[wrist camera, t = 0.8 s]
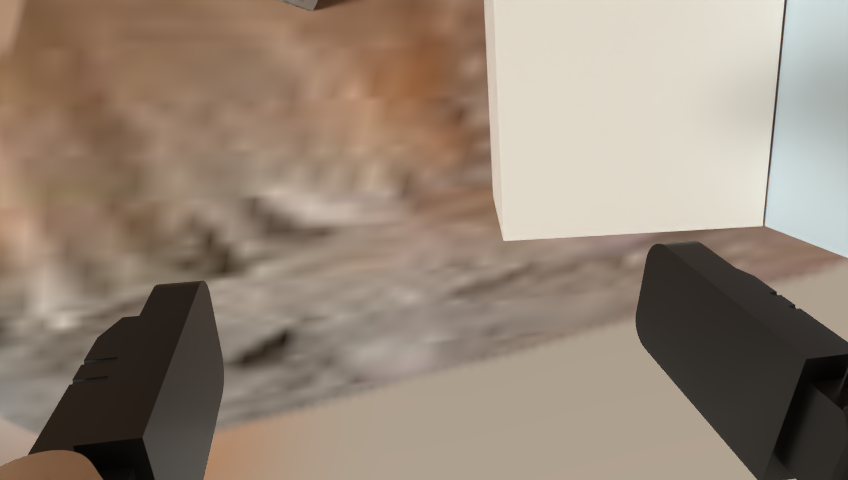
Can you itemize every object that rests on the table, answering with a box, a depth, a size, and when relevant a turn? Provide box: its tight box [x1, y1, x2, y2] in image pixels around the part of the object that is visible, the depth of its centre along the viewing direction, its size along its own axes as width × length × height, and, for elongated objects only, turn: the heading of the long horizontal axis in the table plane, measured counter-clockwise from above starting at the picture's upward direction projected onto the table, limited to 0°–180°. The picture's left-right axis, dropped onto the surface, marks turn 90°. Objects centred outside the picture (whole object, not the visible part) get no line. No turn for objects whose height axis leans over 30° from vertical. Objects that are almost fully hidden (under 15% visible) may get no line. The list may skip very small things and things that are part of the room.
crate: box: [484, 0, 786, 241], centre depth 27 cm, size 12×11×9 cm
